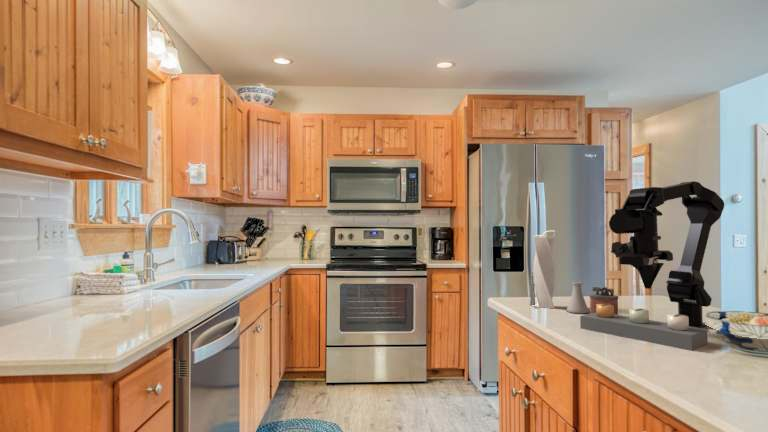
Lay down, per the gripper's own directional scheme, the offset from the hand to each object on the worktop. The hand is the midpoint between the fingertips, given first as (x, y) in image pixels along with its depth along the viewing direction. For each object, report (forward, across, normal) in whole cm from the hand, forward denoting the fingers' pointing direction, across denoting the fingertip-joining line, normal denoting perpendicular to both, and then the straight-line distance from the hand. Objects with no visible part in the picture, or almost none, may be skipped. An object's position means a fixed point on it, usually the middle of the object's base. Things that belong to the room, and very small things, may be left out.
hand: (647, 288), depth 118 cm
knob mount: (+11, +8, +1) cm, 14 cm away
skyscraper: (+12, -6, -38) cm, 40 cm away
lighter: (+12, -4, -15) cm, 19 cm away
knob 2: (+11, +8, +10) cm, 17 cm away
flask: (+12, -7, -26) cm, 29 cm away
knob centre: (+11, +8, +1) cm, 14 cm away
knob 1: (+11, +8, -8) cm, 16 cm away
